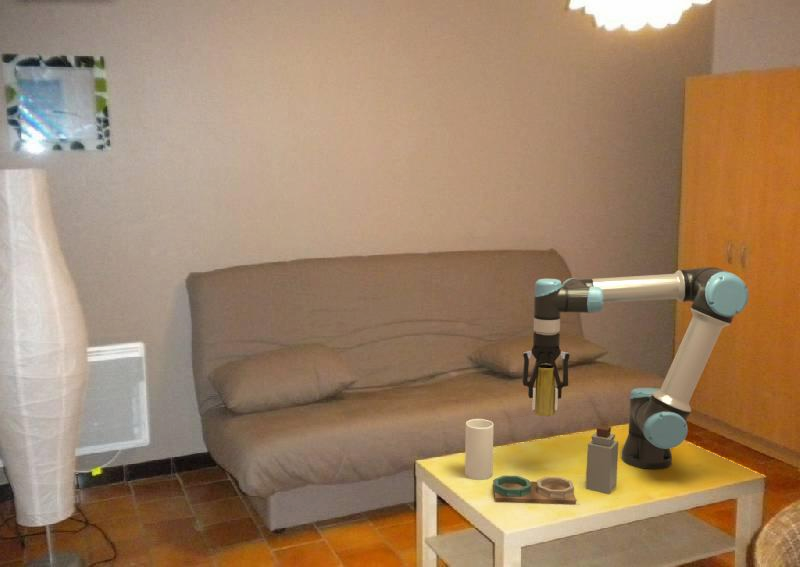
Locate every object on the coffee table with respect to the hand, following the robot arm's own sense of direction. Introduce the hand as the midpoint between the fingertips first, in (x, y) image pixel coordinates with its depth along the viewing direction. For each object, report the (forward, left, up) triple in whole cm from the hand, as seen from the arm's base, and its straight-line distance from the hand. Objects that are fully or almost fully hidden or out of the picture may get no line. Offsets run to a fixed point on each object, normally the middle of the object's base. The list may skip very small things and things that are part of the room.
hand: (544, 408), depth 233 cm
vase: (0, 0, -2) cm, 2 cm away
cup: (+19, +1, -21) cm, 28 cm away
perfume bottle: (-16, +8, -21) cm, 27 cm away
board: (+4, +14, -21) cm, 25 cm away
